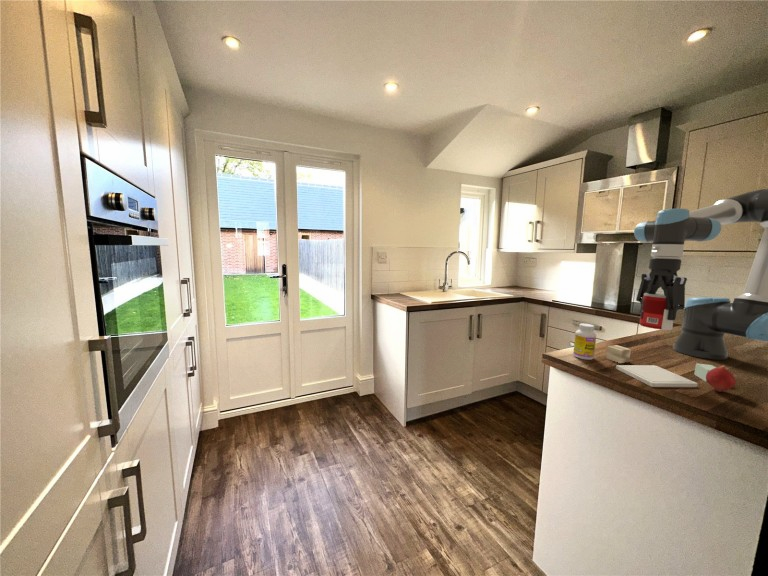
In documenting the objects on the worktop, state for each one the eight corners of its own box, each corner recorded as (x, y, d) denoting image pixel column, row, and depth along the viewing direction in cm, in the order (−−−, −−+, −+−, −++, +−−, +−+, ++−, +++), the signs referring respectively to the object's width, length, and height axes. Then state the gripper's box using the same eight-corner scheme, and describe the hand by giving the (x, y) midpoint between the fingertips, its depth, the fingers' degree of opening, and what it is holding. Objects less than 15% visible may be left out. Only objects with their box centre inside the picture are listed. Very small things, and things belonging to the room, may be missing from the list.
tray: (655, 368, 104) (655, 365, 104) (697, 387, 91) (697, 382, 90) (615, 368, 104) (616, 364, 104) (651, 386, 90) (652, 382, 90)
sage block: (709, 376, 99) (711, 365, 98) (722, 384, 93) (724, 372, 93) (694, 374, 100) (695, 363, 100) (705, 382, 95) (707, 370, 94)
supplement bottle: (583, 360, 111) (586, 327, 109) (569, 354, 118) (572, 323, 116) (598, 359, 113) (601, 326, 111) (583, 353, 119) (586, 322, 117)
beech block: (615, 357, 115) (617, 345, 115) (629, 362, 111) (630, 349, 110) (605, 358, 114) (607, 346, 113) (619, 363, 109) (620, 350, 109)
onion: (698, 386, 91) (702, 361, 90) (715, 386, 91) (719, 361, 90) (721, 396, 85) (726, 369, 84) (739, 395, 86) (744, 369, 84)
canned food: (677, 330, 95) (682, 297, 93) (647, 328, 97) (653, 295, 95) (661, 325, 102) (666, 293, 101) (634, 323, 104) (638, 292, 103)
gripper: (628, 256, 107) (620, 318, 110) (685, 258, 86) (672, 334, 89) (649, 257, 107) (640, 319, 110) (711, 259, 86) (697, 335, 89)
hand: (654, 326), depth 99 cm, fingers closed on canned food, 8 cm apart
